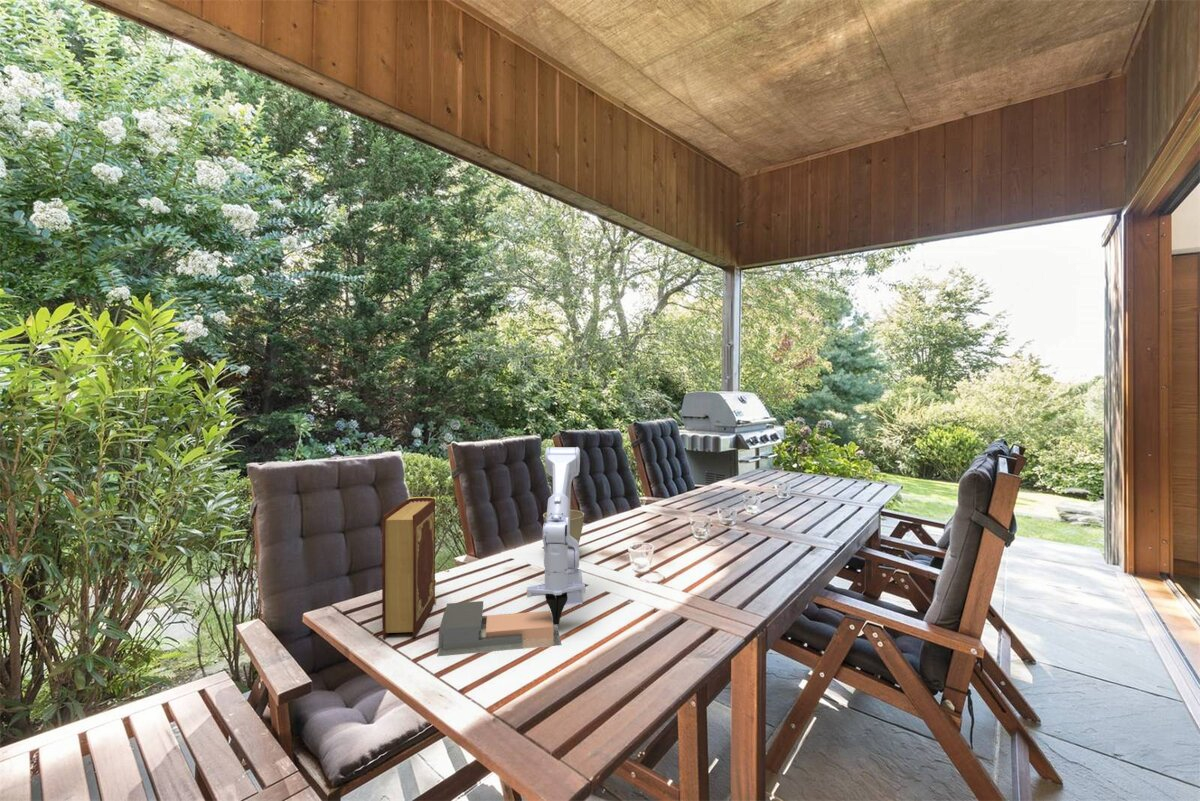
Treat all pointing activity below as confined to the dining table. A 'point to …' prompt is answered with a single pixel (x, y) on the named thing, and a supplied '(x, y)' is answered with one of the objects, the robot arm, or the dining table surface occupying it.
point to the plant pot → (574, 523)
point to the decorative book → (408, 565)
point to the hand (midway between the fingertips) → (556, 622)
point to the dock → (480, 633)
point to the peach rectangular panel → (521, 625)
